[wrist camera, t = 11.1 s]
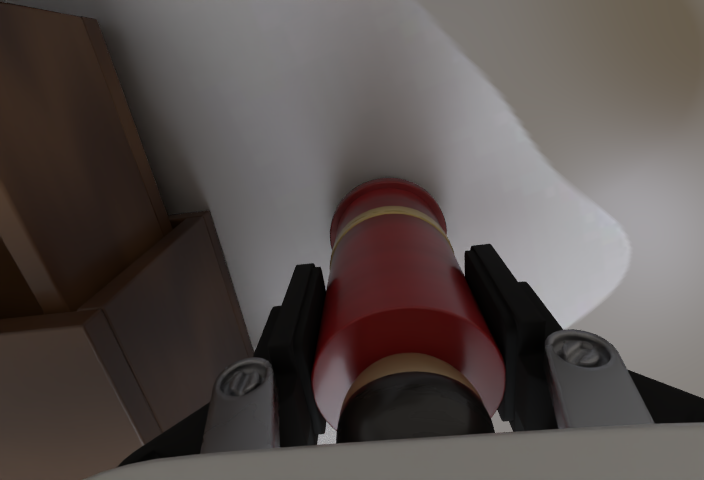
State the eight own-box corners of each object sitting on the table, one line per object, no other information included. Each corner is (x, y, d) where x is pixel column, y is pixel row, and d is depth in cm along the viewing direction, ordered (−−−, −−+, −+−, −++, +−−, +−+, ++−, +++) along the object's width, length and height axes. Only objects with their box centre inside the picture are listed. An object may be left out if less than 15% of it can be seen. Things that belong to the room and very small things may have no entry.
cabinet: (-72, 245, 19) (-392, 374, 11) (210, 209, 17) (82, 325, 9) (68, 458, 25) (-68, 639, 17) (282, 443, 24) (241, 630, 16)
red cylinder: (322, 185, 16) (231, 424, 5) (441, 169, 16) (613, 395, 5) (340, 286, 18) (301, 609, 7) (446, 275, 18) (575, 603, 7)
